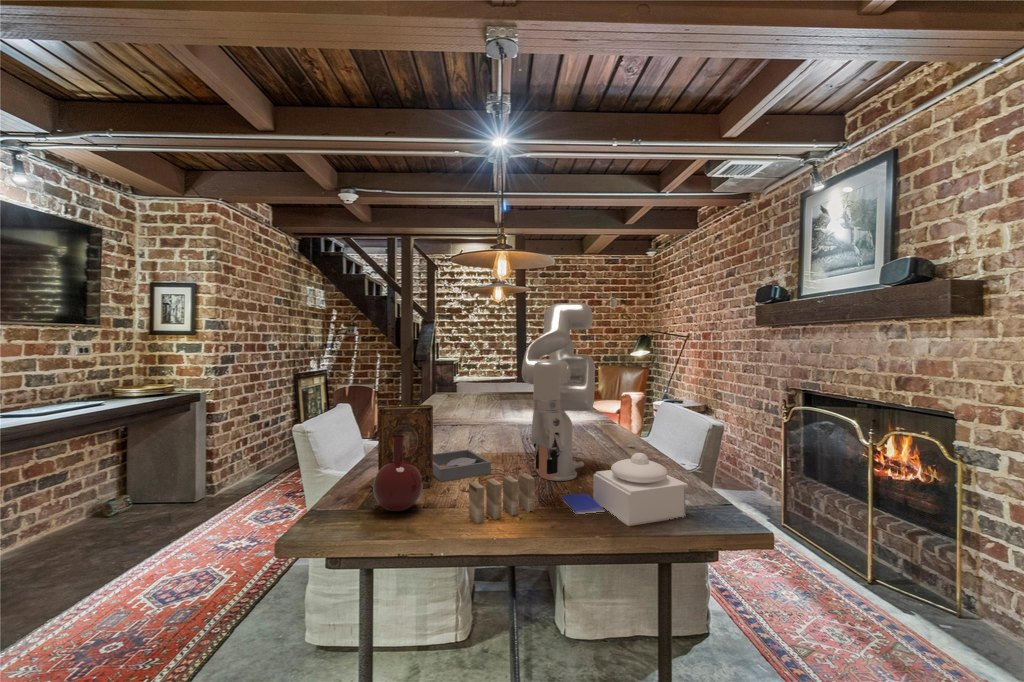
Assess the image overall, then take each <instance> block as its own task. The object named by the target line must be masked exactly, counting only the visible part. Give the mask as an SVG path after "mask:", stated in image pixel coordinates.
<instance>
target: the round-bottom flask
mask: <svg viewBox="0 0 1024 682" xmlns="http://www.w3.org/2000/svg"><path fill="white" fill-rule="evenodd" d="M403 438H404V436H402V435H396V436H393V437H392V439H393V461H392V462H390V463H388V464H386V465H384V466H383V467H382V468H381V469H380V470H379V471H377V473H376V475H375V477H374V479H373V483H372V490H373V491H372V493H373V496H374V498H375V500H376V502H377V503H378V505H380V507H381V508H384V509H385V510H386V511H390V512H402V511H405V510H408V509H410V508H411V507H413V506H414V505H415V504H416V503H417V502H418V500H419V499H420V497H421V495H422V493H423V490H424V489H423V479H422V476H421V473H420V471H419V470H418V469H417V467H416V466H414V465H413V464H411V463H410V462H407V461H403Z"/></svg>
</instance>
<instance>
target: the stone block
mask: <svg viewBox="0 0 1024 682" xmlns="http://www.w3.org/2000/svg"><path fill="white" fill-rule="evenodd" d="M475 463H477V460H476V459H470V458H459V459H454V460H451V461H450V462H449V463H448V464H445V466H444V468H448V467H455V466H461V465H468V464H475Z"/></svg>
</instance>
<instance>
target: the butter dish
mask: <svg viewBox="0 0 1024 682" xmlns="http://www.w3.org/2000/svg"><path fill="white" fill-rule="evenodd" d="M610 467H611V468H610V469H609V470H600V471H595V473H593V489H592V491H593V498H592V499H593V500H594V501H596V502H597V503H598V504H599V505H601V506H602V507H604V508H605V509H606V510H607V511H609V512H610V513H611V514H610V513H609V512H608V513H609V514H610V515H612V514H613V515H614V516H613V515H612V516H613V517H615V516H616V517H617V518H618V519H617V518H616V517H615V518H616V519H617V520H619V521H620V522H622V523H623V524H625V525H626V526H628V527H632V526H637V525H644V524H650V523H658V522H663V521H669V519H670V520H675V519H674V518H676V519H679V518H678V517H682V518H685V517H686V505H687V504H686V501H687V500H686V497H687V496H686V495H687V494H686V493H687V490H686V488H688V487H689V484H688V483H686V482H684V481H682V480H680V479H677V478H676V477H673V476H671V475H669V474H668V473H669V472H668V470H667V468H666V467H665V466H664V465H662V464H660V463H659V462H655V461H653V460H650V459H649V457H648V456H647V455H646V454H645V453H643V452H635V453H634V454H632V455H631V457H630V458H626V459H621V460H618V461H616V462H614V463H613V464H611V466H610ZM605 509H604V510H605ZM606 510H605V511H606ZM607 511H606V512H607ZM684 516H685V517H684Z"/></svg>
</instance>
